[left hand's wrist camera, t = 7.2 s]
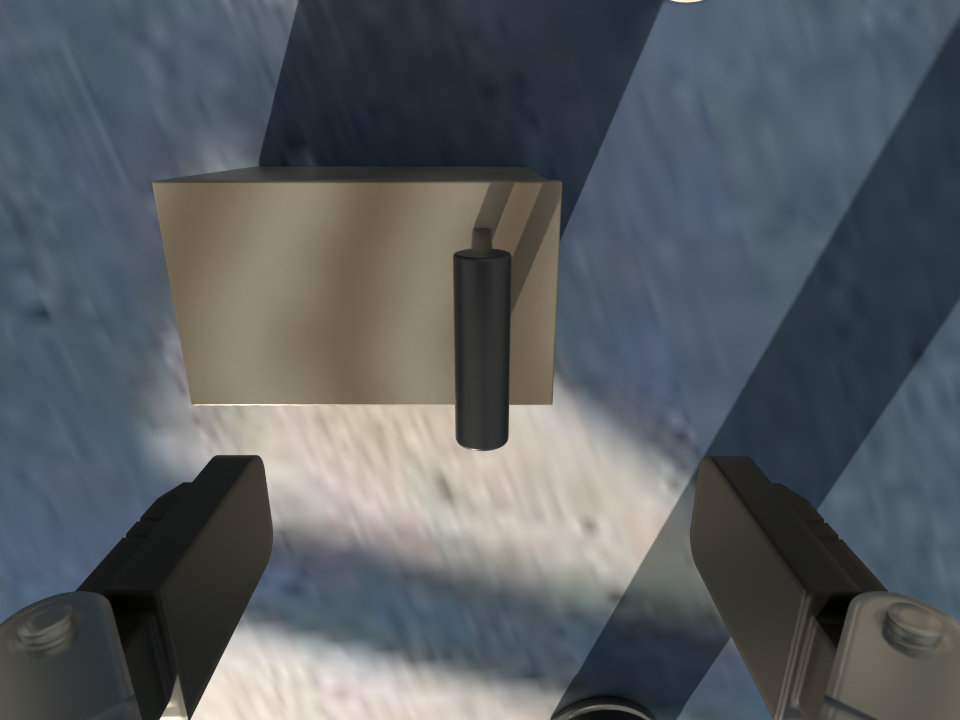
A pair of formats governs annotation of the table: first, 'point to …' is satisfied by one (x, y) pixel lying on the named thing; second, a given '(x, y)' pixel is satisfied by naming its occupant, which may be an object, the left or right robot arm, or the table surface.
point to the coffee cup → (686, 0)
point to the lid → (367, 293)
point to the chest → (372, 173)
